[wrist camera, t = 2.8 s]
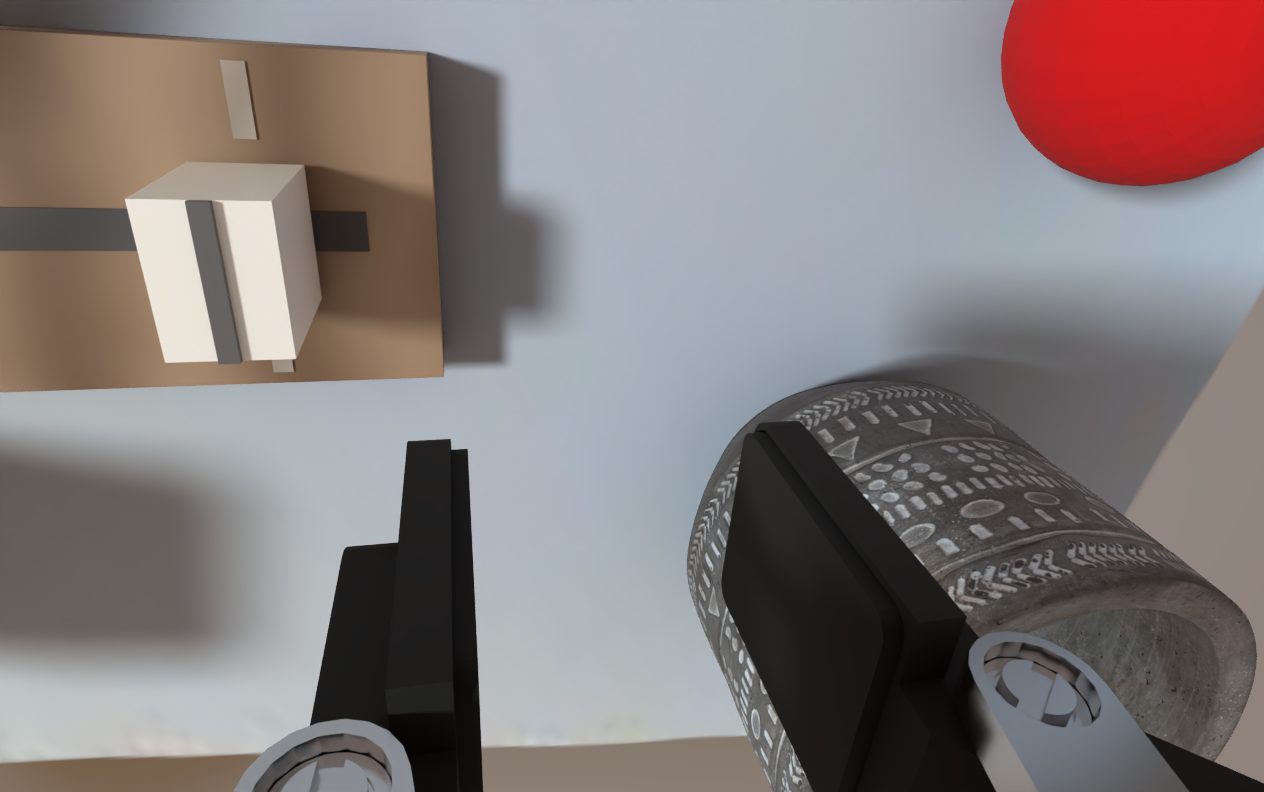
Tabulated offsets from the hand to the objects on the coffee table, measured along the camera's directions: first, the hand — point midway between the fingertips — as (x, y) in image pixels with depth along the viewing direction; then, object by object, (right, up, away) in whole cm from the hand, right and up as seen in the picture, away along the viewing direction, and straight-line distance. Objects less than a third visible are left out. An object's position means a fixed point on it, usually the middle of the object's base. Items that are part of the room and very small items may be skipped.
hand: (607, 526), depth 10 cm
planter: (+8, -2, +24) cm, 25 cm away
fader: (-11, +7, +11) cm, 17 cm away
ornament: (+16, +15, +16) cm, 27 cm away
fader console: (-16, +7, +12) cm, 21 cm away
